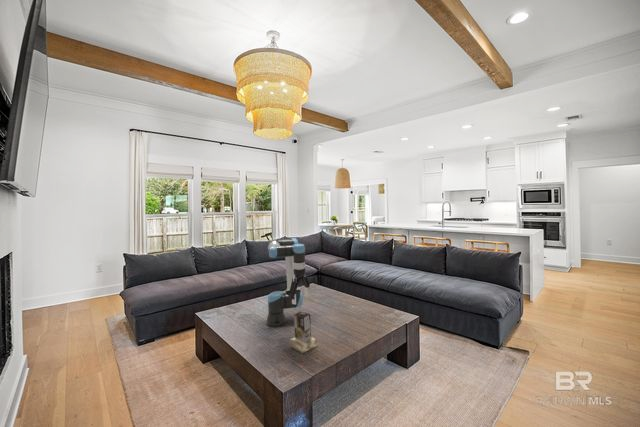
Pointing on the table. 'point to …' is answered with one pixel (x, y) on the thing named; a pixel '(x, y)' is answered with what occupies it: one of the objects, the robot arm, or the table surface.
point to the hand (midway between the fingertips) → (300, 300)
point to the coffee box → (302, 326)
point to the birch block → (303, 344)
